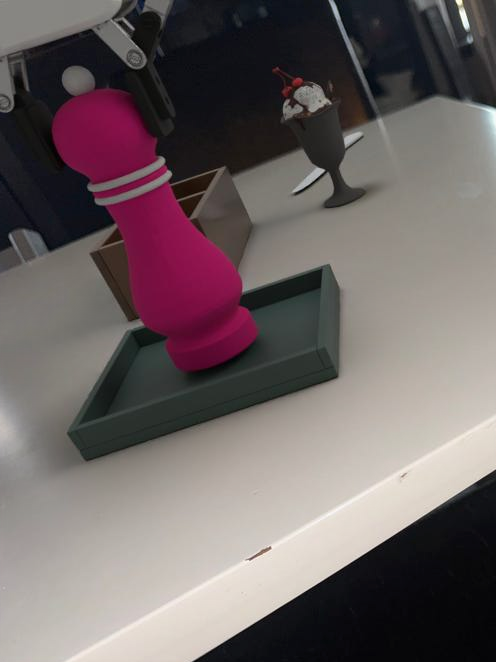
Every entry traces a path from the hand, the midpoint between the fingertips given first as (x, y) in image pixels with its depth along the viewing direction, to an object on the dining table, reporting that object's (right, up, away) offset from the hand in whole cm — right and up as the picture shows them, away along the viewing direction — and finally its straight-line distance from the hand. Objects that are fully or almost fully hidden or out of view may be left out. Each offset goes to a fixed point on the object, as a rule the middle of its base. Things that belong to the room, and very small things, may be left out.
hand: (113, 148), depth 48 cm
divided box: (-6, -4, +31) cm, 32 cm away
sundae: (+8, +5, +38) cm, 39 cm away
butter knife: (+3, +13, +55) cm, 57 cm away
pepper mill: (+4, -13, +7) cm, 15 cm away
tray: (+5, -14, +8) cm, 16 cm away
